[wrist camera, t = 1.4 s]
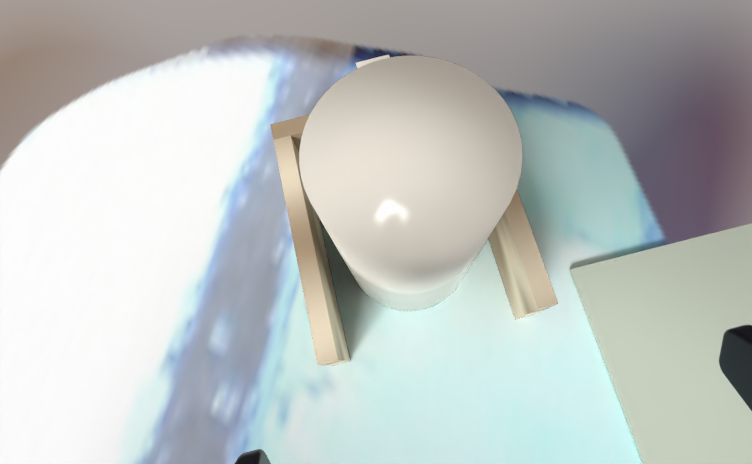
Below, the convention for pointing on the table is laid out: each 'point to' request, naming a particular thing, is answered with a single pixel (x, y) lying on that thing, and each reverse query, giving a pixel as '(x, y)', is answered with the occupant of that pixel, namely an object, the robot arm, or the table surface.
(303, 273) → the frame
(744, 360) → the robot arm
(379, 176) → the rounded top cylinder
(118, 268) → the table surface
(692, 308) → the sage mat
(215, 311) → the table surface
